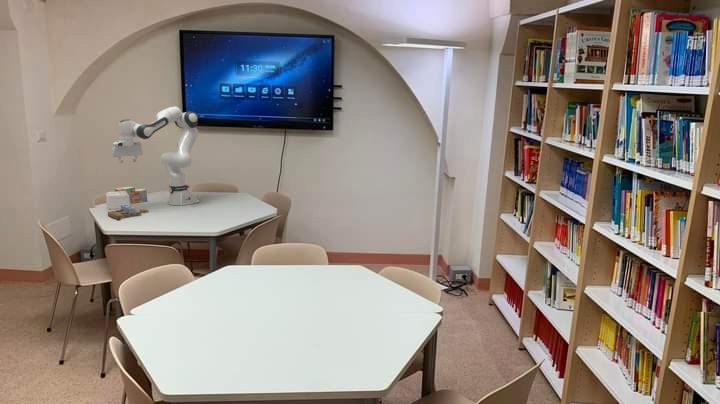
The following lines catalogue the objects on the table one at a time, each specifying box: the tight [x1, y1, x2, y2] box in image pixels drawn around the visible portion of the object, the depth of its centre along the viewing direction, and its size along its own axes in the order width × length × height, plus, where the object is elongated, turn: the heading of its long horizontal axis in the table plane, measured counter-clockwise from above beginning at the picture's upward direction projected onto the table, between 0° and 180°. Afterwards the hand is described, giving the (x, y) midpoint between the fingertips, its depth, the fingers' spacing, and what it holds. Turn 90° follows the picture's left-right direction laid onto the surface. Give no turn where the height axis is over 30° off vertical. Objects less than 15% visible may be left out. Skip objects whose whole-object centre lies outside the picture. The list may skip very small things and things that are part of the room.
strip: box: [120, 204, 136, 214], centre depth 350 cm, size 4×14×5 cm, turn 47°
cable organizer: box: [105, 191, 131, 211], centre depth 368 cm, size 15×11×12 cm
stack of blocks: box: [114, 186, 148, 205], centre depth 387 cm, size 21×6×12 cm, turn 139°
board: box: [107, 209, 142, 221], centre depth 348 cm, size 16×16×3 cm
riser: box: [139, 208, 149, 214], centre depth 358 cm, size 4×5×2 cm
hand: (128, 162), depth 361 cm, fingers open, 8 cm apart
